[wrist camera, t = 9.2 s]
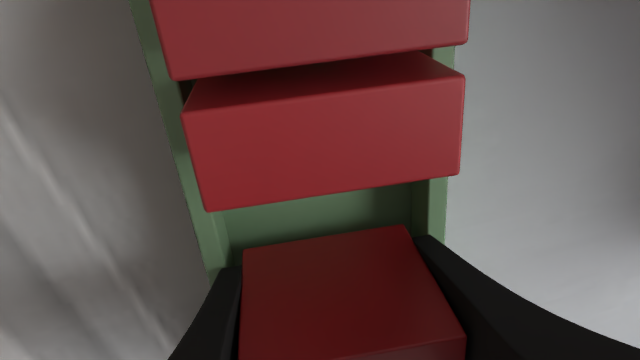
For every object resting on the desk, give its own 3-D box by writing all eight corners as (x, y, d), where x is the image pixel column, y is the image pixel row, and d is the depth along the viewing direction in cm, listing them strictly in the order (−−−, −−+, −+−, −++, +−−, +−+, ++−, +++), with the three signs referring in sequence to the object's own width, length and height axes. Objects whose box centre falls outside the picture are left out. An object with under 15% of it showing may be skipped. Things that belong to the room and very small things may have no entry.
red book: (403, 272, 14) (462, 395, 10) (253, 298, 14) (252, 436, 10) (403, 222, 13) (468, 336, 9) (242, 248, 13) (236, 378, 9)
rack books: (394, 107, 12) (460, 176, 8) (221, 131, 12) (204, 215, 8) (391, -72, 10) (479, -96, 6) (182, -50, 10) (130, -61, 6)
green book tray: (419, 314, 17) (439, 357, 15) (242, 345, 17) (240, 394, 15) (428, -153, 10) (467, -180, 8) (118, -125, 9) (85, -147, 8)
